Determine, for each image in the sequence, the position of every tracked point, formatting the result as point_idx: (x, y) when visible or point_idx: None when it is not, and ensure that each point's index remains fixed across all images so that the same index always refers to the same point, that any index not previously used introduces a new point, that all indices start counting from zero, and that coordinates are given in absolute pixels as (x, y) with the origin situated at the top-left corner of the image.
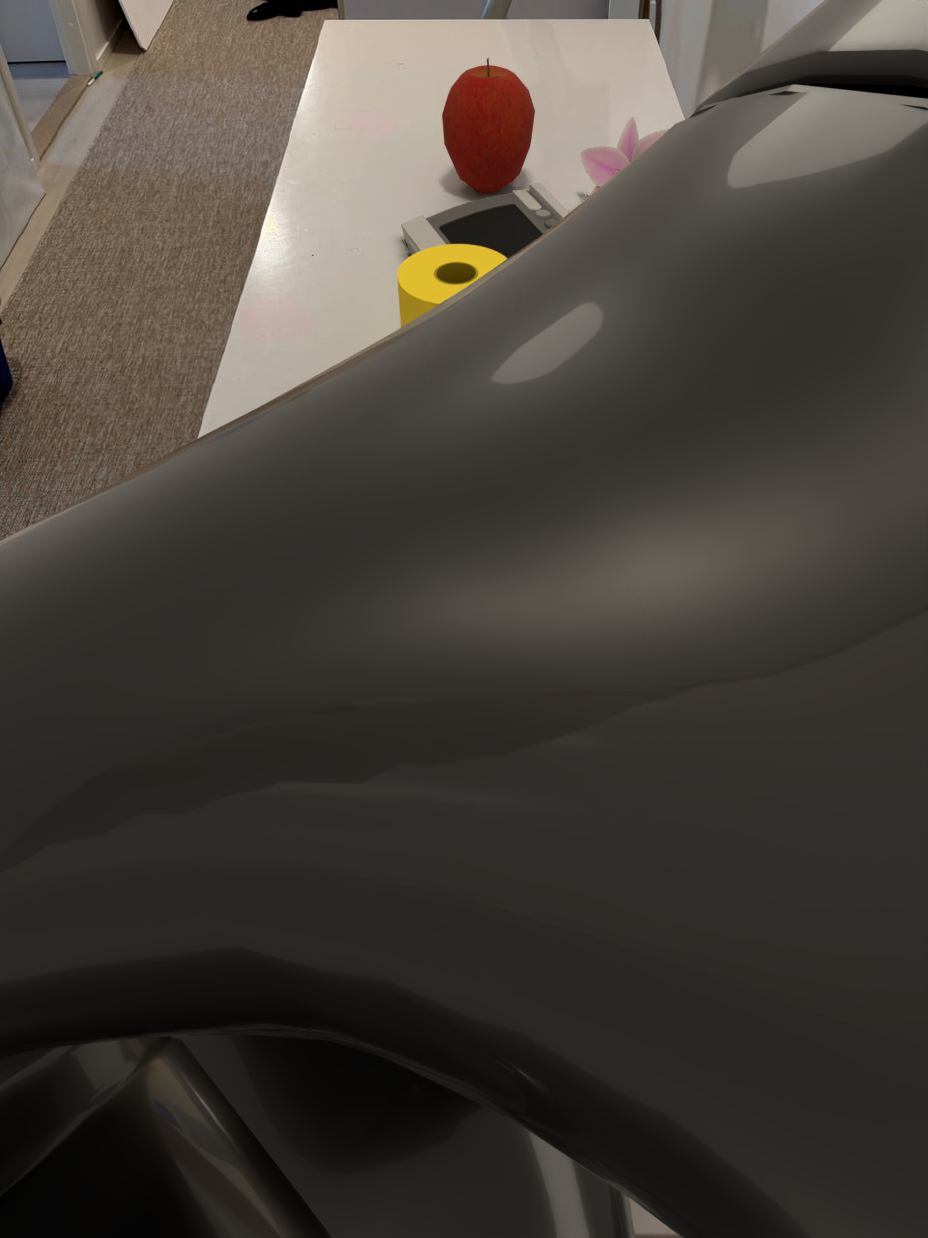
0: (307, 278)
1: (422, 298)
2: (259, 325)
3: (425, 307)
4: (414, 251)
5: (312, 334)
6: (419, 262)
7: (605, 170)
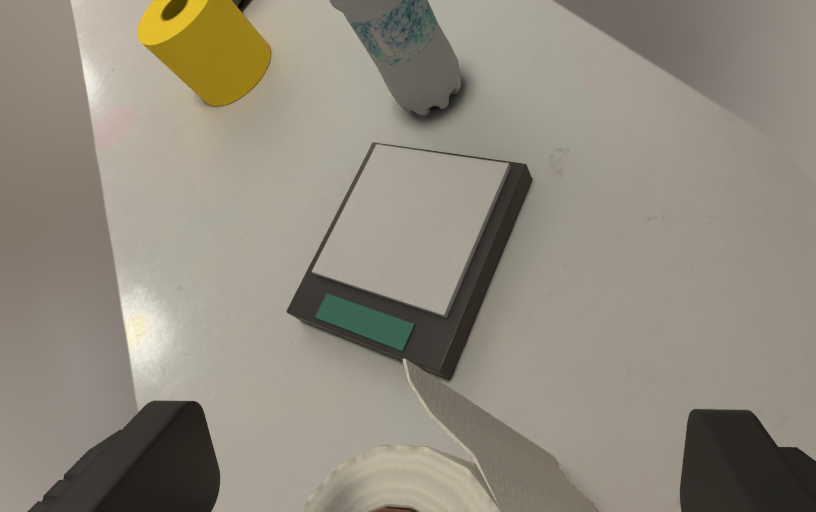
0: (117, 86)
1: (161, 41)
2: (104, 138)
3: (168, 46)
4: None
5: (137, 119)
6: (148, 19)
7: None
